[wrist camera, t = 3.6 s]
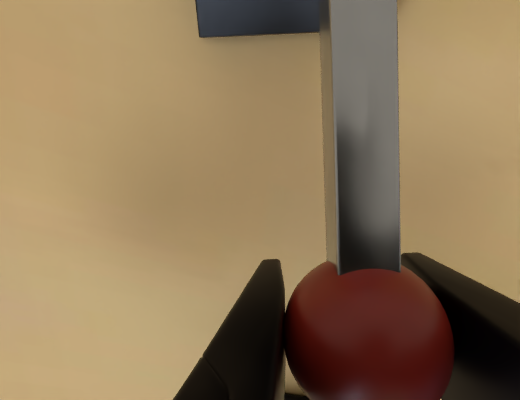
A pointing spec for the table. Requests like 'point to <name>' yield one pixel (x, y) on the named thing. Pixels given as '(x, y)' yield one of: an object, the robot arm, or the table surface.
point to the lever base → (256, 17)
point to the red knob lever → (364, 233)
